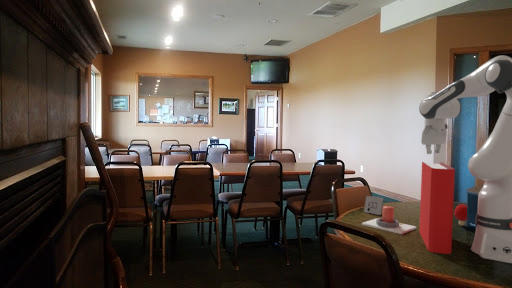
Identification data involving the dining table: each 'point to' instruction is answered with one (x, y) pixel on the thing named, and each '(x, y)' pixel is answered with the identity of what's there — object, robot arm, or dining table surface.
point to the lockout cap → (388, 214)
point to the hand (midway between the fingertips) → (433, 153)
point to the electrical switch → (373, 205)
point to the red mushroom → (461, 213)
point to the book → (437, 207)
